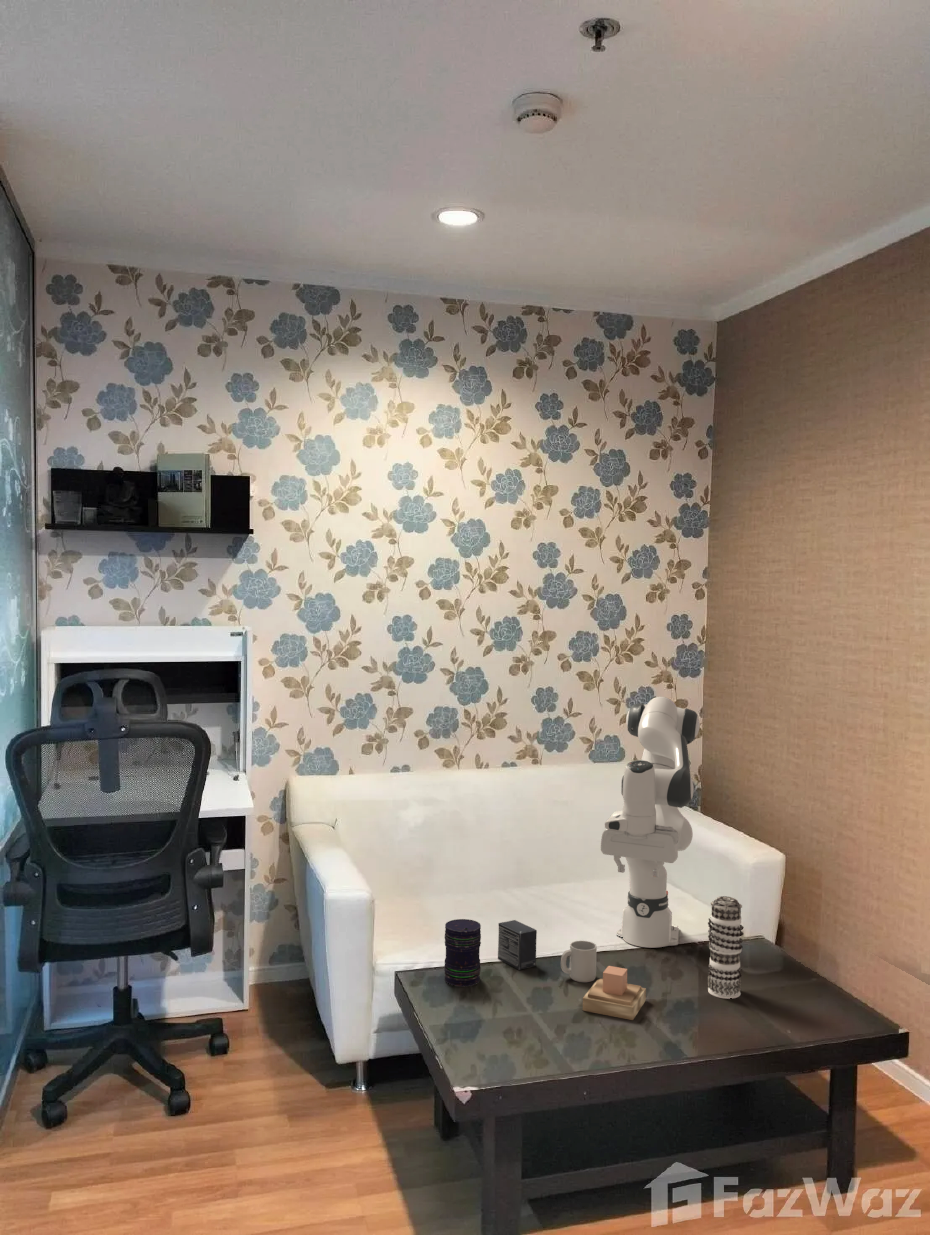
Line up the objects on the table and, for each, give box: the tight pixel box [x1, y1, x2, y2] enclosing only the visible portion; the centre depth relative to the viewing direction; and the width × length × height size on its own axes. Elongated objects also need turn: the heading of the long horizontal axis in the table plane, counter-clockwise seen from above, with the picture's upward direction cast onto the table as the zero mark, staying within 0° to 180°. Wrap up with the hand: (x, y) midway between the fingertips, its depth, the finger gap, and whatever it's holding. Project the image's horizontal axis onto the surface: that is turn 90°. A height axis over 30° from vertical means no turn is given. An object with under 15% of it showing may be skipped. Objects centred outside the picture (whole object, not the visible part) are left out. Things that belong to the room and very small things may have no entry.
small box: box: [497, 919, 538, 971], centre depth 286 cm, size 11×6×10 cm, turn 34°
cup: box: [560, 940, 598, 983], centre depth 275 cm, size 7×10×9 cm
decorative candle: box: [707, 895, 744, 1000], centre depth 267 cm, size 9×9×25 cm
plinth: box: [582, 978, 647, 1021], centre depth 258 cm, size 13×13×4 cm
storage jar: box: [443, 918, 482, 988], centre depth 273 cm, size 10×10×15 cm
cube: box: [602, 965, 628, 995], centre depth 258 cm, size 5×5×5 cm
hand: (638, 874), depth 267 cm, fingers open, 8 cm apart
